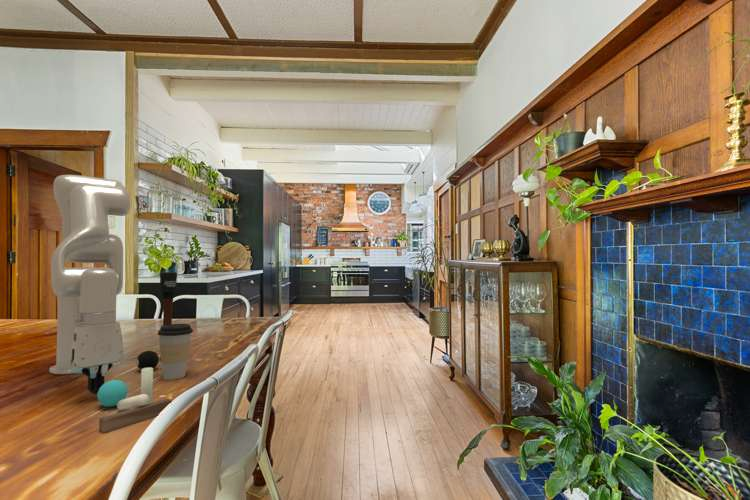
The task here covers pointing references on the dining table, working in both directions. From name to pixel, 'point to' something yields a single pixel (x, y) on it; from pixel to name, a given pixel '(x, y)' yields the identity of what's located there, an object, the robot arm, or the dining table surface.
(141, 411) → the walnut rail
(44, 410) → the dining table surface
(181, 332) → the coffee cup
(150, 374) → the sage pin
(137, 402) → the cream pin
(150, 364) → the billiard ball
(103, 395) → the ball
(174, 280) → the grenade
